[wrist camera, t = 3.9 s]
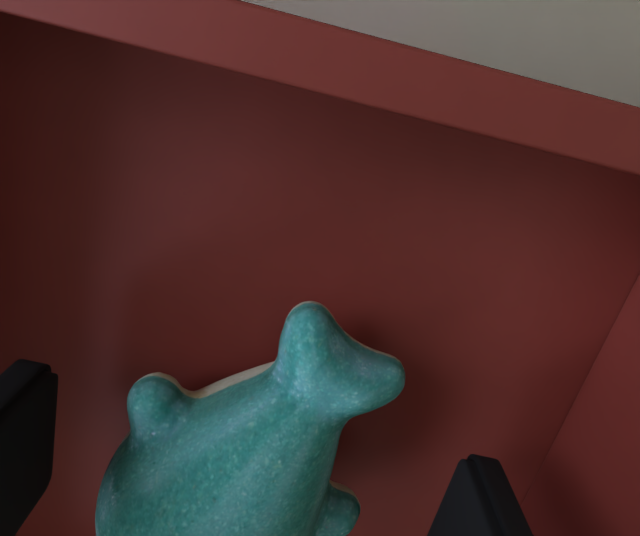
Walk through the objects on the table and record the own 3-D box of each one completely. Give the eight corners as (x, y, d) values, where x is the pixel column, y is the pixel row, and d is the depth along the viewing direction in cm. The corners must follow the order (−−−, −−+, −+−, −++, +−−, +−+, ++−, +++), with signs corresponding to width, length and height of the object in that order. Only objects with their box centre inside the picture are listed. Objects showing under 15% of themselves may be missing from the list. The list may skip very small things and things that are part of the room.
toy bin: (-83, -67, 9) (-329, -153, 5) (731, 149, 10) (933, 185, 7) (-56, 582, 15) (-166, 729, 11) (453, 672, 16) (487, 829, 12)
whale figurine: (75, 445, 12) (-26, 595, 9) (257, 227, 10) (218, 308, 7) (262, 558, 14) (239, 728, 10) (456, 385, 12) (514, 523, 8)
